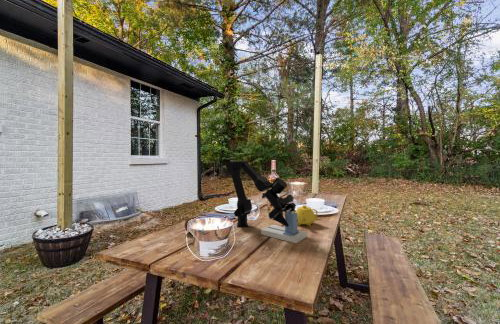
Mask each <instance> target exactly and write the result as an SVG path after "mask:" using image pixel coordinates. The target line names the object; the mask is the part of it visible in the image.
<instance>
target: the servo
mask: <svg viewBox="0 0 500 324" xmlns="http://www.w3.org/2000/svg"><path fill="white" fill-rule="evenodd" d="M295 212H296V211H295ZM295 212H294V211H291V212H287V213H285V212H284V218H285V220H286V221H287V223H288V225H289V226H288V227H286V226H285V225H284V227H285V232H284V233H283V234H284V235H289V236H292V235H293V236H294V235H296V234H297V232H299V231H300V230H299V229H298V223H297V213H295Z"/></svg>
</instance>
